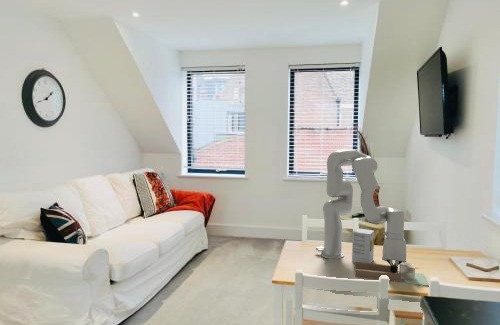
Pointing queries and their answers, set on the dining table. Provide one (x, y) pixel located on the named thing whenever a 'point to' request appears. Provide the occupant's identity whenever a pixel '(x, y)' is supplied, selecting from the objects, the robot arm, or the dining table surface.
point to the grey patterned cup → (407, 271)
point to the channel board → (385, 273)
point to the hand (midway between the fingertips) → (393, 273)
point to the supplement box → (363, 245)
